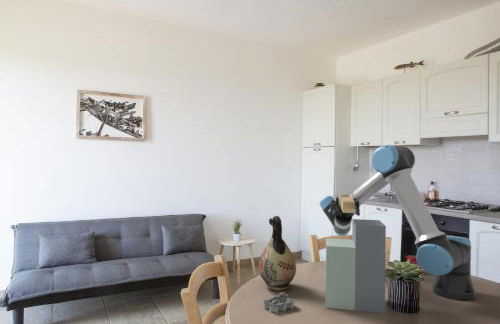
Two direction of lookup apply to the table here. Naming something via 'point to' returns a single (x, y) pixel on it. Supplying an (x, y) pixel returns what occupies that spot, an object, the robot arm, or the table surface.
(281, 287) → the ceramic jug
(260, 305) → the table surface
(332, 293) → the two-step stand
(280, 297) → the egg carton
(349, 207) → the oak bar
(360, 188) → the robot arm
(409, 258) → the flower
